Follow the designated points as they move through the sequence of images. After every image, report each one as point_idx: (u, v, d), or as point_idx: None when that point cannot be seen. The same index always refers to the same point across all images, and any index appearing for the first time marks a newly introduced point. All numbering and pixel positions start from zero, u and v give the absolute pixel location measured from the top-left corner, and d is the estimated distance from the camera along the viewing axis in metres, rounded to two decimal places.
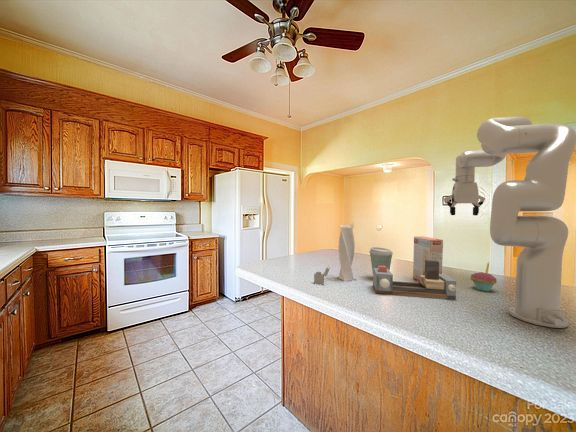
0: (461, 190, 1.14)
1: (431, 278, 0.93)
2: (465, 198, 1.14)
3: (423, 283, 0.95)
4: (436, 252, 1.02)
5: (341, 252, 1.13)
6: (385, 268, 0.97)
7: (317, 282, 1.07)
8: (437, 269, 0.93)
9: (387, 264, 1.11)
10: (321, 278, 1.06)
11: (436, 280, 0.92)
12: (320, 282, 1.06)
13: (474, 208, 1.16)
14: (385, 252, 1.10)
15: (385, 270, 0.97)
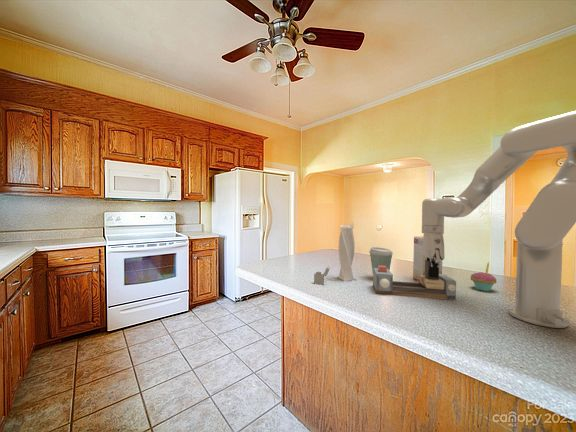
0: None
1: (431, 278, 0.93)
2: None
3: (423, 283, 0.95)
4: None
5: (341, 252, 1.13)
6: (385, 268, 0.97)
7: (317, 282, 1.07)
8: None
9: (387, 264, 1.11)
10: (321, 278, 1.06)
11: (436, 280, 0.92)
12: (320, 282, 1.06)
13: None
14: (385, 252, 1.10)
15: (385, 270, 0.97)
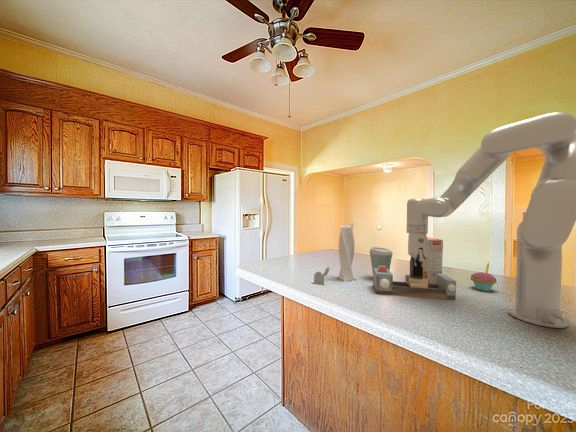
0: None
1: (415, 277, 0.94)
2: None
3: (408, 282, 0.96)
4: (436, 252, 1.03)
5: (341, 252, 1.13)
6: (385, 268, 0.97)
7: (317, 282, 1.07)
8: None
9: (387, 264, 1.11)
10: (321, 278, 1.06)
11: (420, 279, 0.93)
12: (320, 282, 1.06)
13: None
14: (385, 252, 1.10)
15: (385, 270, 0.97)
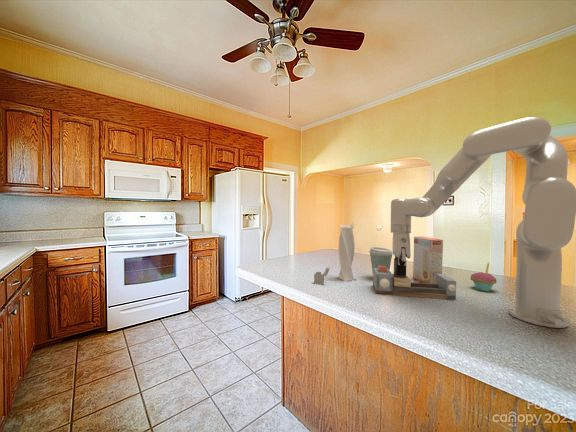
0: None
1: (399, 276, 0.96)
2: None
3: None
4: (436, 252, 1.02)
5: (341, 252, 1.13)
6: (385, 268, 0.97)
7: (317, 282, 1.07)
8: None
9: (387, 264, 1.11)
10: (321, 278, 1.06)
11: (403, 278, 0.94)
12: (320, 282, 1.06)
13: None
14: (385, 252, 1.10)
15: (385, 270, 0.97)
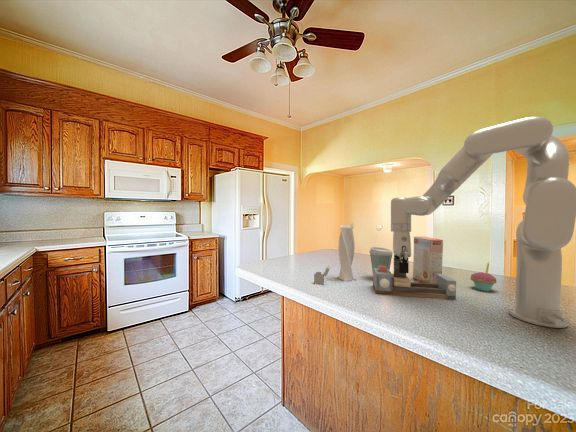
0: None
1: (399, 276, 0.96)
2: None
3: None
4: (436, 252, 1.03)
5: (341, 252, 1.13)
6: (385, 268, 0.97)
7: (317, 282, 1.07)
8: None
9: (387, 264, 1.11)
10: (321, 278, 1.06)
11: (403, 278, 0.94)
12: (320, 282, 1.06)
13: None
14: (385, 252, 1.10)
15: (385, 270, 0.97)
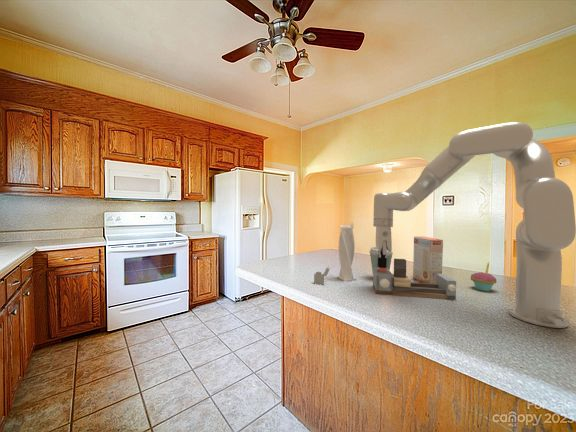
0: None
1: (399, 276, 0.96)
2: None
3: None
4: (436, 252, 1.03)
5: (341, 252, 1.13)
6: (385, 269, 0.97)
7: (317, 282, 1.07)
8: (404, 268, 0.95)
9: (387, 264, 1.11)
10: (321, 278, 1.06)
11: (403, 278, 0.94)
12: (320, 282, 1.06)
13: None
14: None
15: (385, 271, 0.97)
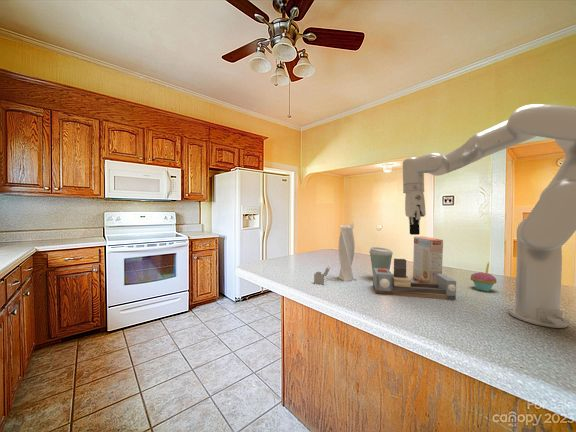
0: None
1: (399, 276, 0.96)
2: None
3: None
4: (436, 252, 1.02)
5: (341, 252, 1.13)
6: (385, 271, 0.97)
7: (317, 282, 1.07)
8: (404, 268, 0.95)
9: (387, 264, 1.11)
10: (321, 278, 1.06)
11: (403, 278, 0.94)
12: (320, 282, 1.06)
13: None
14: (385, 252, 1.10)
15: None
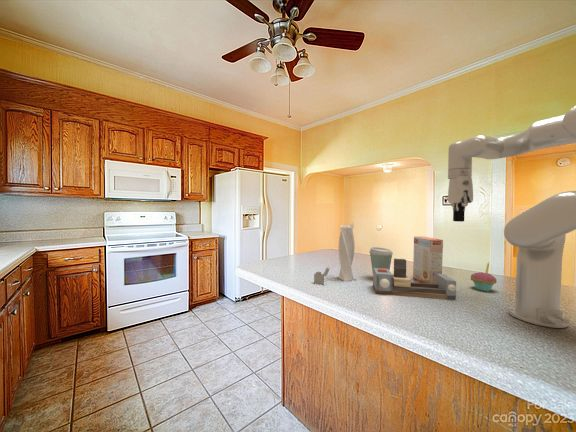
0: None
1: (399, 276, 0.96)
2: None
3: None
4: (436, 252, 1.03)
5: (341, 252, 1.13)
6: (385, 271, 0.97)
7: (317, 282, 1.07)
8: (404, 268, 0.95)
9: (387, 264, 1.11)
10: (321, 278, 1.06)
11: (403, 278, 0.94)
12: (320, 282, 1.06)
13: None
14: (385, 252, 1.10)
15: None
